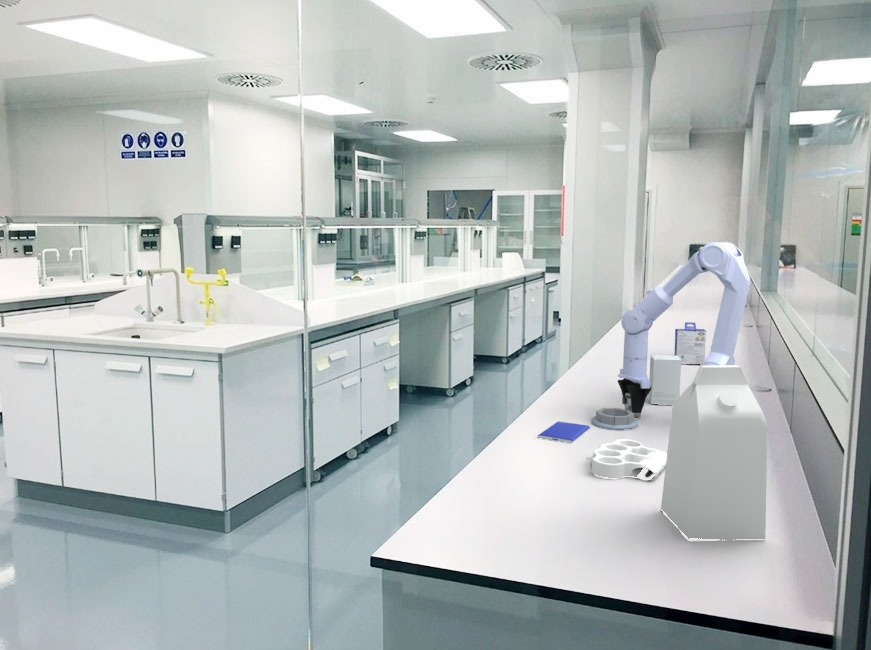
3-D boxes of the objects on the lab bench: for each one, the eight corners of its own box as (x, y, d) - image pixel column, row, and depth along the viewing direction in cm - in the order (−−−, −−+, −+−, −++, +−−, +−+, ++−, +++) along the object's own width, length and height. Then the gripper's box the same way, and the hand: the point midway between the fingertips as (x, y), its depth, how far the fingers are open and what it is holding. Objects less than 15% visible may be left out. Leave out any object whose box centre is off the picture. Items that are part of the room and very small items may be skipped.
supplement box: (679, 406, 187) (681, 360, 185) (650, 405, 188) (652, 358, 186) (675, 400, 194) (678, 355, 192) (647, 398, 195) (650, 354, 193)
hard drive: (557, 420, 168) (537, 434, 158) (590, 425, 164) (572, 439, 154) (556, 427, 169) (537, 440, 158) (589, 432, 165) (572, 446, 154)
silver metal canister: (643, 418, 175) (644, 395, 174) (625, 419, 174) (626, 395, 173) (637, 414, 179) (638, 391, 178) (619, 414, 178) (620, 391, 177)
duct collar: (645, 429, 165) (646, 418, 165) (600, 430, 164) (601, 419, 163) (627, 417, 176) (628, 406, 175) (585, 418, 175) (585, 407, 174)
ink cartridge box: (701, 362, 248) (704, 322, 246) (705, 365, 242) (707, 324, 240) (672, 361, 249) (675, 321, 247) (675, 364, 244) (677, 323, 242)
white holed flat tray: (650, 490, 128) (574, 474, 136) (673, 462, 143) (604, 450, 151) (651, 472, 128) (574, 458, 135) (674, 446, 143) (604, 435, 150)
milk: (730, 510, 118) (740, 359, 114) (765, 540, 107) (777, 373, 103) (660, 511, 117) (668, 359, 114) (688, 541, 106) (697, 374, 102)
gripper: (609, 352, 181) (607, 403, 183) (631, 363, 167) (628, 418, 169) (635, 351, 182) (633, 402, 184) (659, 362, 168) (656, 417, 169)
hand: (632, 410), depth 176 cm, fingers open, 4 cm apart
